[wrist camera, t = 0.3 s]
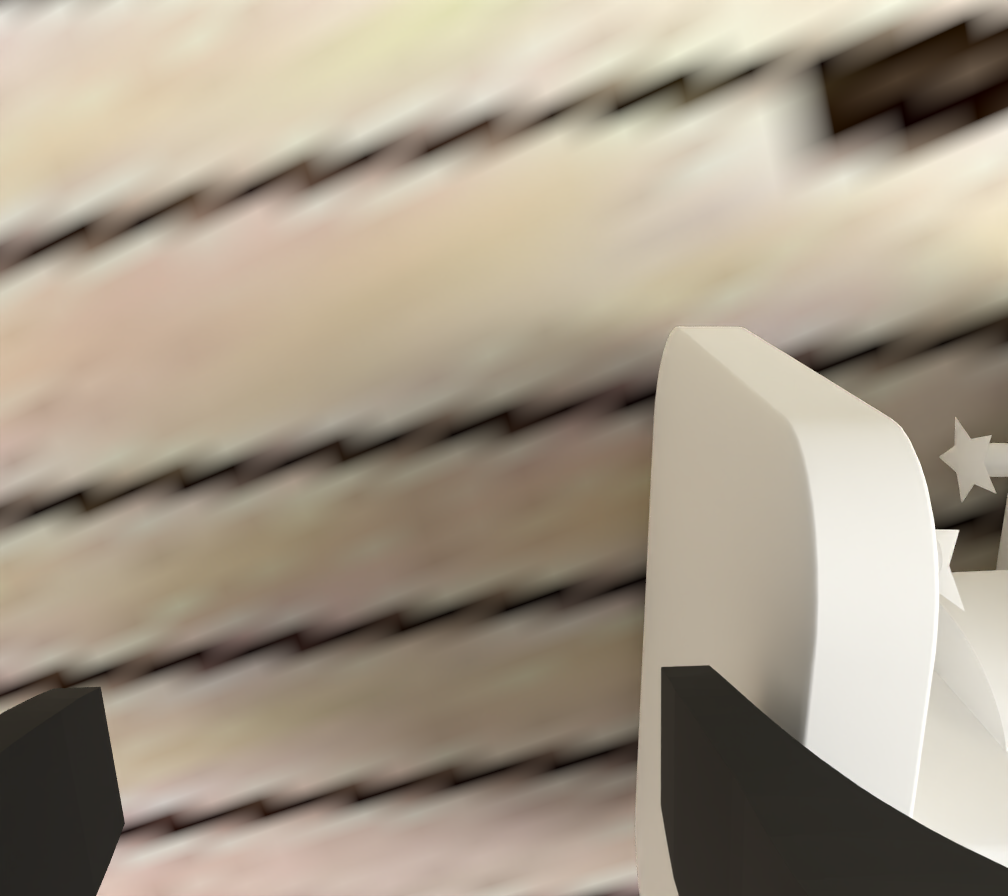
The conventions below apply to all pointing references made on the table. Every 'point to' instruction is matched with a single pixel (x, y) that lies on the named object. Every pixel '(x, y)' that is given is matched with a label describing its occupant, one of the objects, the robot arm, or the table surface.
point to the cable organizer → (821, 588)
